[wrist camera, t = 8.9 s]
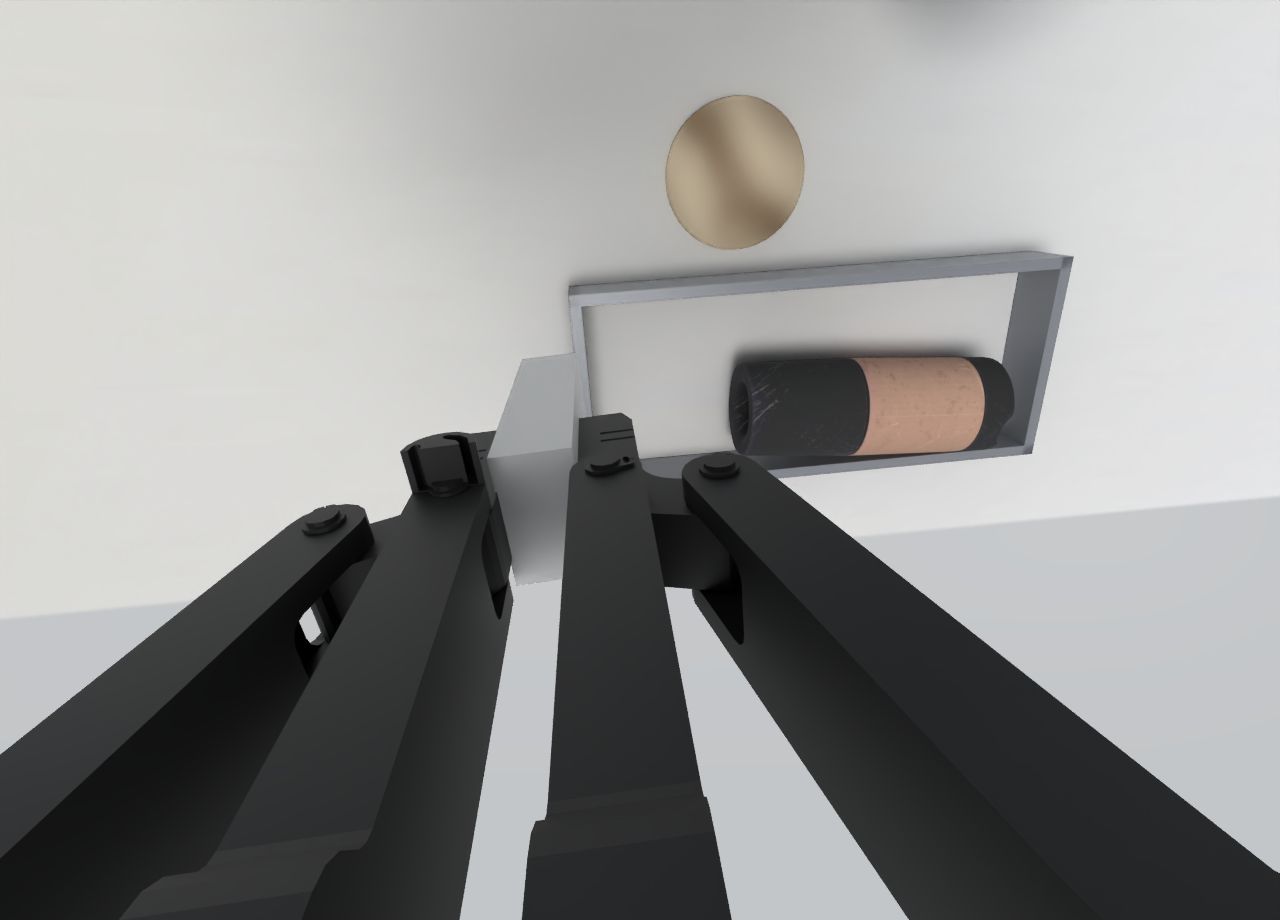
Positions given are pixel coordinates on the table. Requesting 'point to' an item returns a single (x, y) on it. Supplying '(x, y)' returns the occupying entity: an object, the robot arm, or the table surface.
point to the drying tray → (1030, 312)
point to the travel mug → (869, 406)
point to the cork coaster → (735, 172)
